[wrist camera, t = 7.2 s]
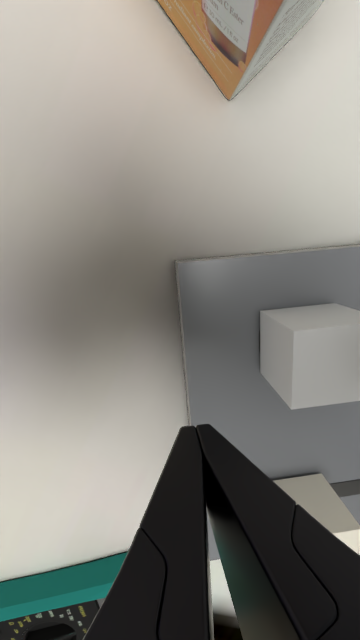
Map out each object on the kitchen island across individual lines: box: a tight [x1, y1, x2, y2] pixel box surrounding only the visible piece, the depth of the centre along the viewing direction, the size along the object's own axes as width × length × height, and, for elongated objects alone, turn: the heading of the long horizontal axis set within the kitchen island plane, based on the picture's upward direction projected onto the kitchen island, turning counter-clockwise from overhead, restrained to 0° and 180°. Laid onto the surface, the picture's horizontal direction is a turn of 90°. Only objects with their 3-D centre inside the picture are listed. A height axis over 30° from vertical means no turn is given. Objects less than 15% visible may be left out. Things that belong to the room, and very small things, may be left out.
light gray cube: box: [260, 303, 360, 410], centre depth 13 cm, size 4×4×4 cm
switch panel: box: [175, 244, 360, 561], centre depth 17 cm, size 16×20×2 cm
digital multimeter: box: [0, 552, 128, 640], centre depth 20 cm, size 7×15×3 cm, turn 100°
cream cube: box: [274, 473, 360, 554], centre depth 16 cm, size 4×4×4 cm
